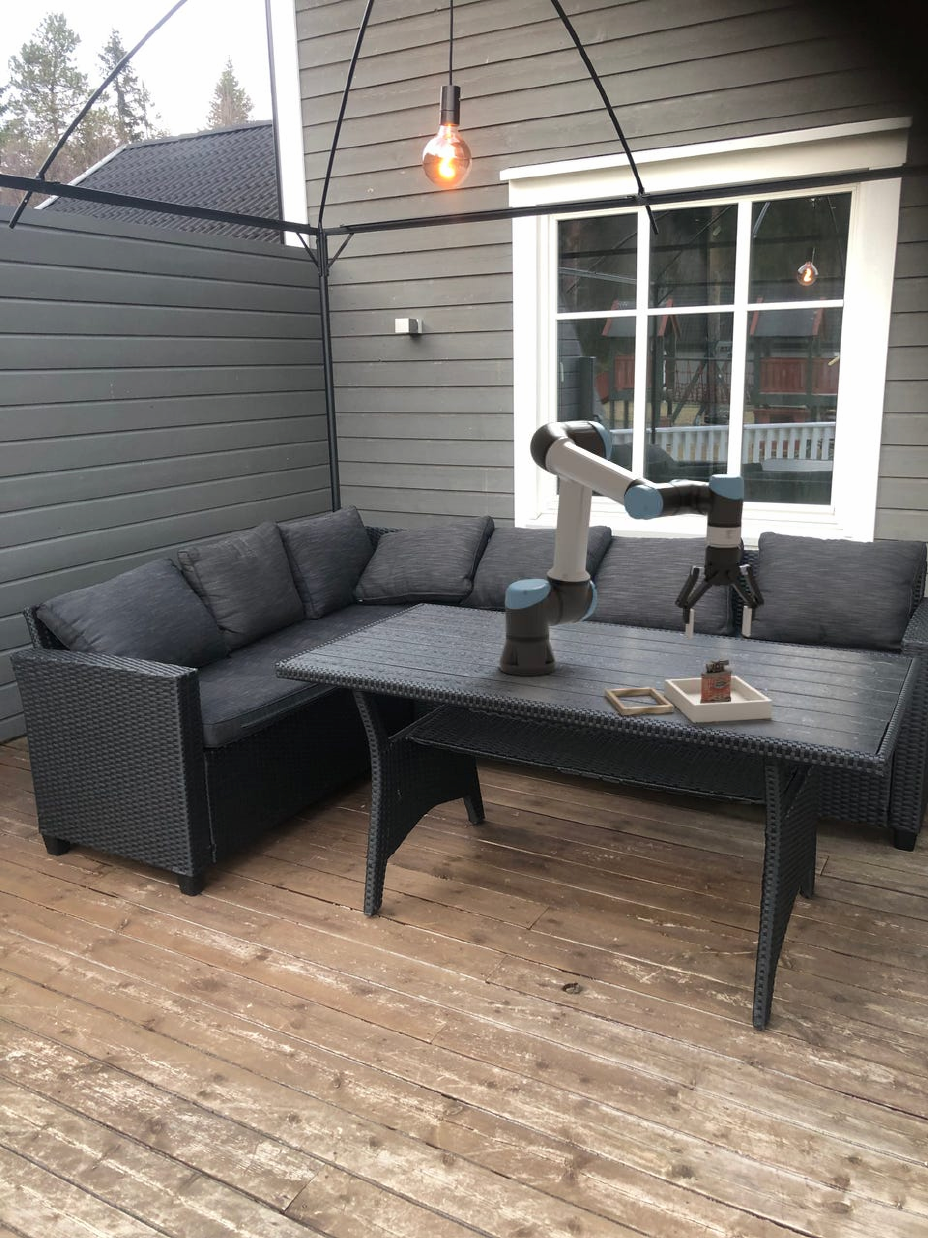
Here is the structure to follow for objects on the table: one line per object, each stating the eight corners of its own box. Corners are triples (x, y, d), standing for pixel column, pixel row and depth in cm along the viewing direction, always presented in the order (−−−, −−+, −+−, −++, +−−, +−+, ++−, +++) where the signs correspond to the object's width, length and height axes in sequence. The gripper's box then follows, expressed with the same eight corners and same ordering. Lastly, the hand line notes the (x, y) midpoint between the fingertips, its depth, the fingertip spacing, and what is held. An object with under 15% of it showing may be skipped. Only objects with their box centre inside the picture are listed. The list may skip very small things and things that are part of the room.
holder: (622, 715, 219) (622, 709, 219) (605, 695, 234) (605, 689, 234) (673, 712, 221) (673, 706, 220) (653, 692, 235) (653, 687, 235)
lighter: (706, 706, 221) (707, 664, 219) (696, 702, 224) (697, 661, 222) (734, 701, 224) (735, 659, 222) (724, 697, 227) (726, 656, 225)
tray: (693, 722, 214) (694, 705, 213) (664, 695, 233) (664, 679, 232) (771, 718, 216) (772, 701, 215) (735, 691, 235) (736, 675, 234)
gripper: (675, 548, 211) (670, 642, 216) (783, 545, 214) (776, 638, 219) (663, 543, 218) (659, 634, 223) (769, 540, 221) (762, 630, 226)
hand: (717, 636), depth 221 cm, fingers open, 13 cm apart
